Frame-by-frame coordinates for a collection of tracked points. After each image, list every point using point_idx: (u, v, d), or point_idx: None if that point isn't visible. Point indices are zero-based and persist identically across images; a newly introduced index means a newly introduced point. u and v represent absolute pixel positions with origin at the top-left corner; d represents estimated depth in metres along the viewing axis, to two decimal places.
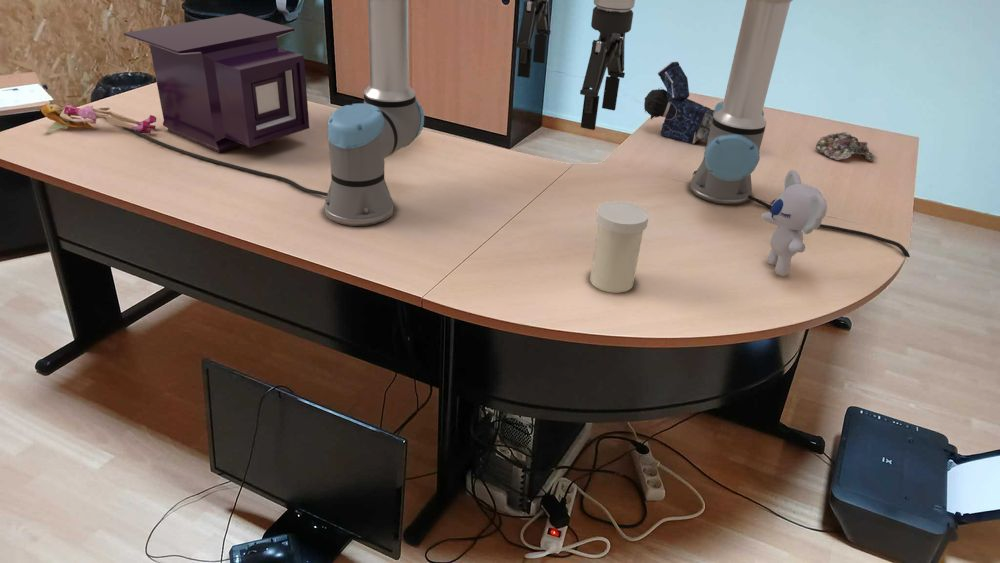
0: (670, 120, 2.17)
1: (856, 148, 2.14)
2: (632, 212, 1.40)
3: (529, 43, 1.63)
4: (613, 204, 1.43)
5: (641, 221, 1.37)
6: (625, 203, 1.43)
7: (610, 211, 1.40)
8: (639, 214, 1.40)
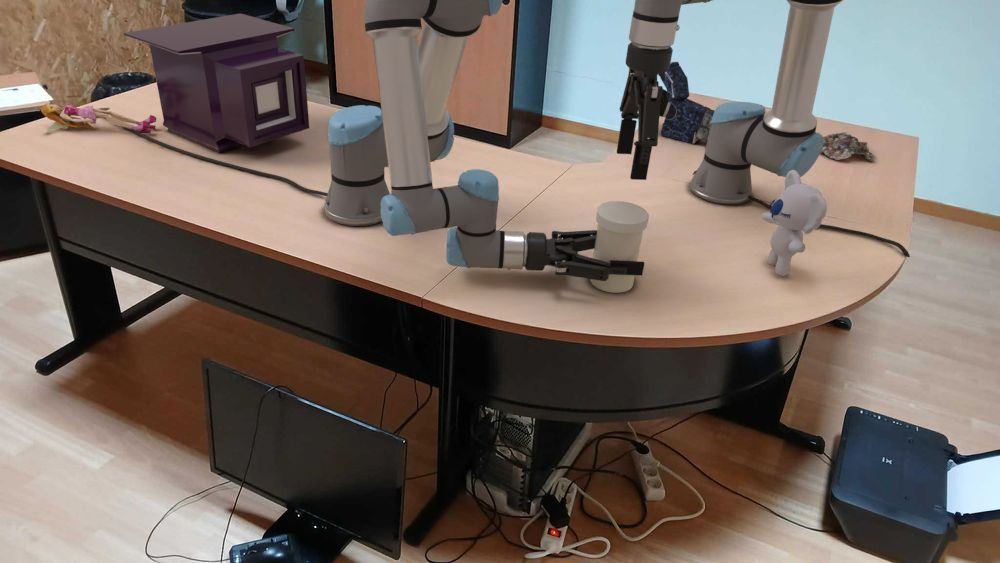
0: (670, 120, 2.17)
1: (856, 148, 2.14)
2: (632, 212, 1.40)
3: (623, 111, 1.37)
4: (613, 204, 1.43)
5: (641, 221, 1.37)
6: (625, 203, 1.43)
7: (610, 211, 1.40)
8: (639, 214, 1.40)
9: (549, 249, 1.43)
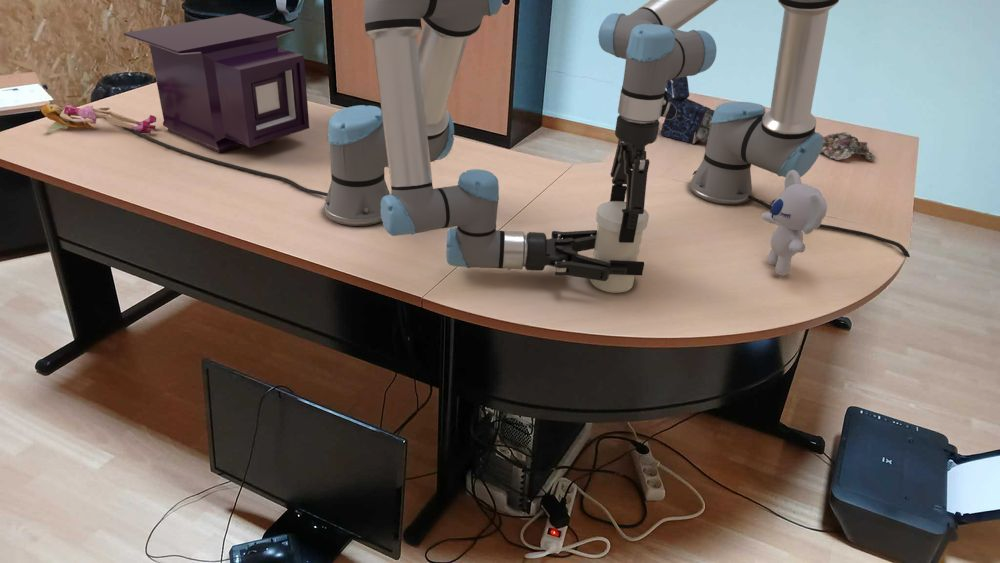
0: (670, 120, 2.17)
1: (856, 148, 2.14)
2: None
3: (613, 177, 1.43)
4: (613, 204, 1.43)
5: (641, 221, 1.37)
6: (625, 203, 1.43)
7: (610, 211, 1.40)
8: (639, 214, 1.40)
9: (549, 249, 1.43)
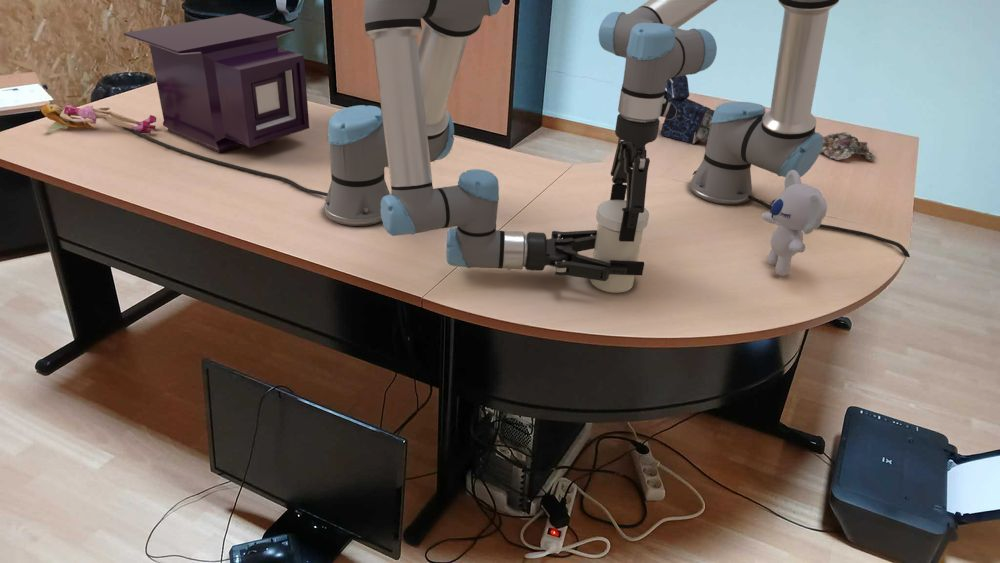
0: (670, 120, 2.17)
1: (856, 148, 2.14)
2: (623, 206, 1.41)
3: (613, 176, 1.43)
4: (605, 211, 1.39)
5: None
6: (602, 205, 1.41)
7: (622, 216, 1.38)
8: None
9: (549, 249, 1.43)
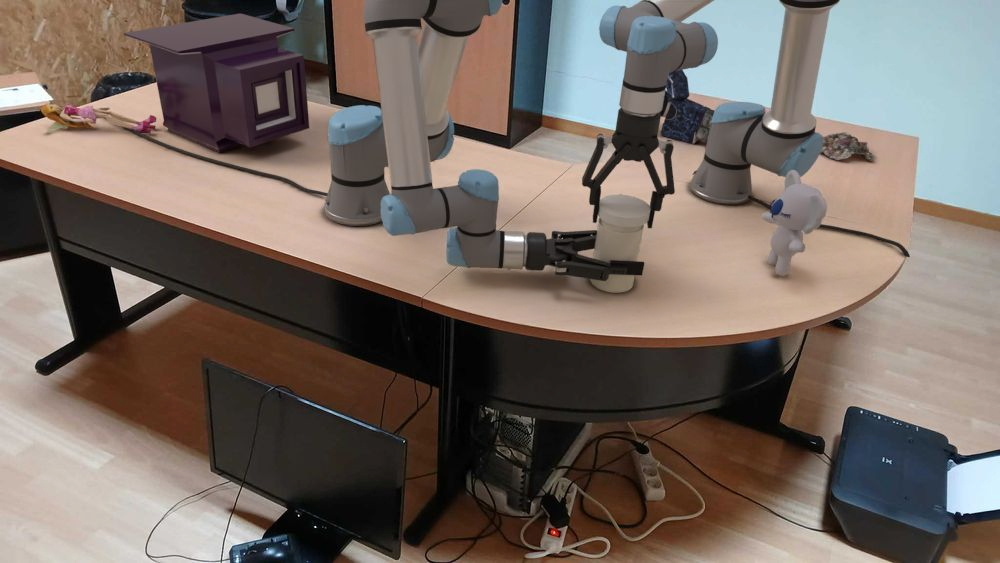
0: (670, 120, 2.17)
1: (856, 148, 2.14)
2: (615, 203, 1.40)
3: (592, 184, 1.36)
4: (628, 214, 1.36)
5: (613, 195, 1.43)
6: (614, 213, 1.36)
7: (637, 208, 1.39)
8: (609, 201, 1.41)
9: (549, 249, 1.43)
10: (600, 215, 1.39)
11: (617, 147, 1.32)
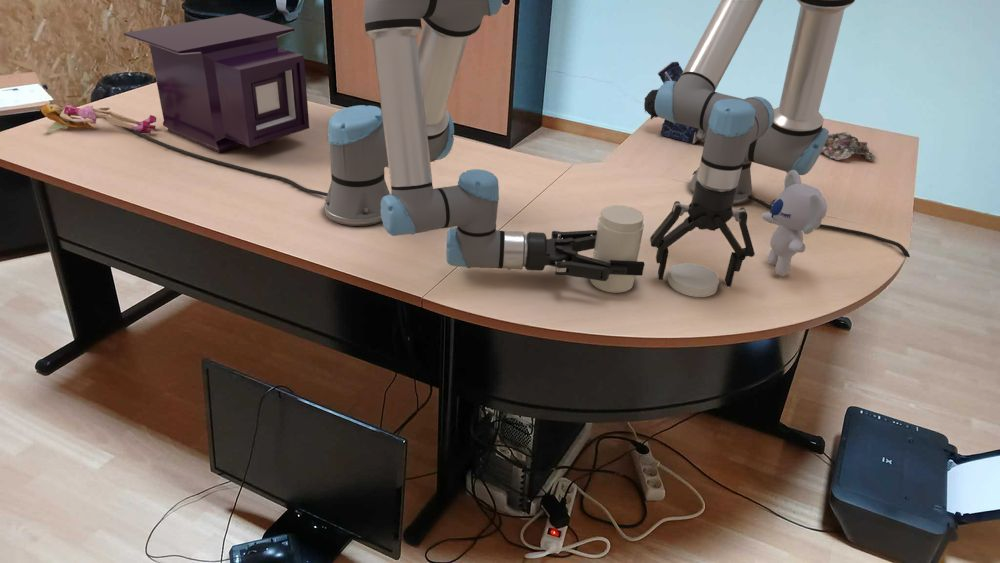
0: None
1: (856, 148, 2.14)
2: (685, 273, 1.49)
3: (661, 244, 1.44)
4: (699, 284, 1.45)
5: (682, 264, 1.52)
6: (686, 283, 1.45)
7: (706, 278, 1.47)
8: (679, 270, 1.49)
9: (549, 249, 1.43)
10: (672, 284, 1.47)
11: (693, 217, 1.40)
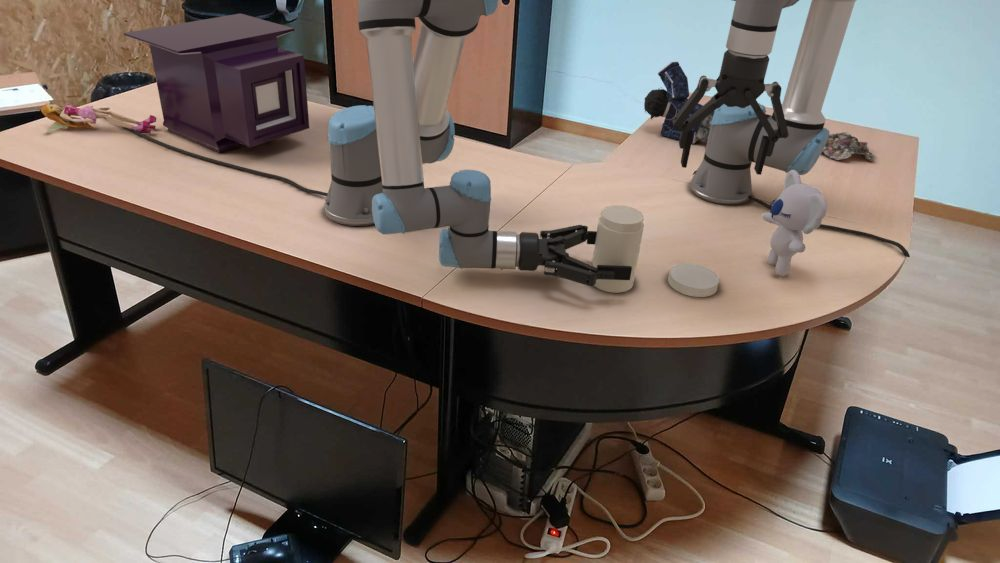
0: (670, 120, 2.17)
1: (856, 148, 2.14)
2: (685, 273, 1.49)
3: (685, 125, 1.31)
4: (699, 284, 1.45)
5: (682, 264, 1.52)
6: (686, 283, 1.45)
7: (706, 278, 1.47)
8: (679, 270, 1.49)
9: (542, 248, 1.43)
10: (672, 284, 1.47)
11: (721, 92, 1.28)
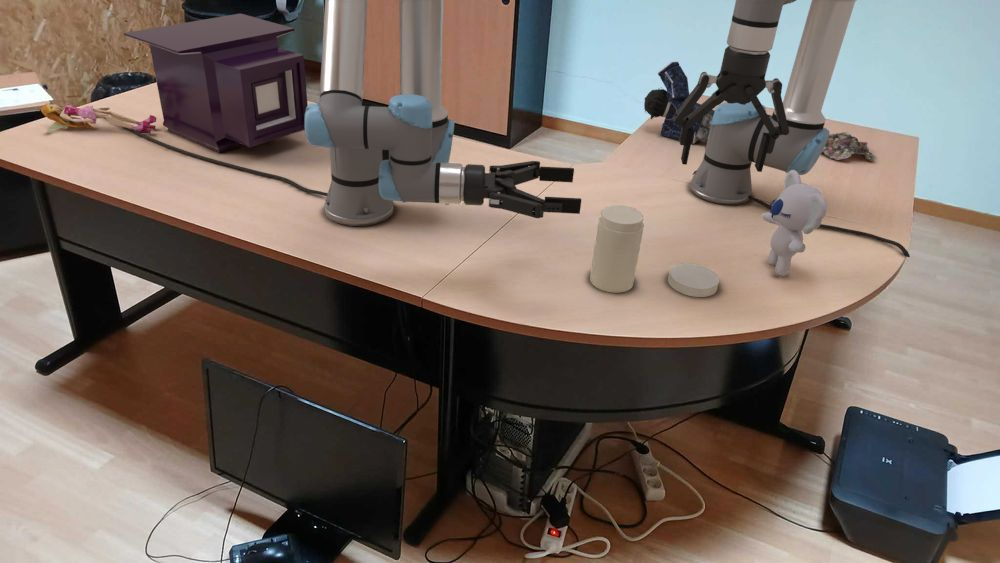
0: (670, 120, 2.17)
1: (856, 148, 2.14)
2: (685, 273, 1.49)
3: (686, 122, 1.31)
4: (699, 284, 1.45)
5: (682, 264, 1.52)
6: (686, 283, 1.45)
7: (706, 278, 1.47)
8: (679, 270, 1.49)
9: (488, 181, 1.35)
10: (672, 284, 1.47)
11: (722, 89, 1.27)
